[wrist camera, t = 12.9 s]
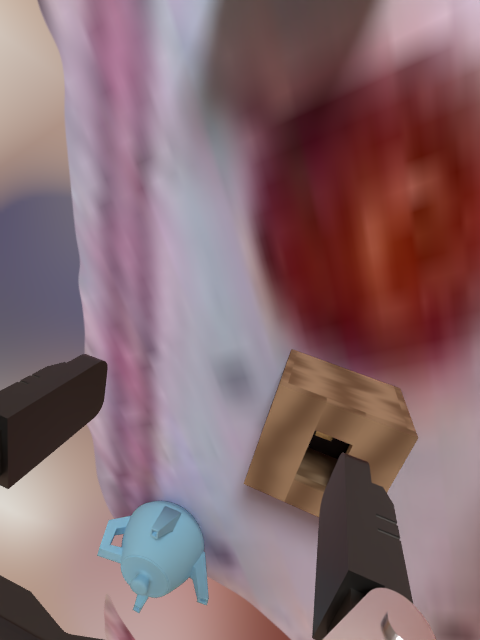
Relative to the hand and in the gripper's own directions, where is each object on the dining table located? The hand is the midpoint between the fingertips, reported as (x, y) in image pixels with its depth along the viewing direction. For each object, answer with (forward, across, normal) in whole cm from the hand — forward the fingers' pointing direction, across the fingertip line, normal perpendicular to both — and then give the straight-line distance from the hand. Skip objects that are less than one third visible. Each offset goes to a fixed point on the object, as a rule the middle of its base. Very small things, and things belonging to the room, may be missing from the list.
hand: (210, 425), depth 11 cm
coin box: (+32, -8, +17) cm, 37 cm away
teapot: (+32, +9, +50) cm, 60 cm away
